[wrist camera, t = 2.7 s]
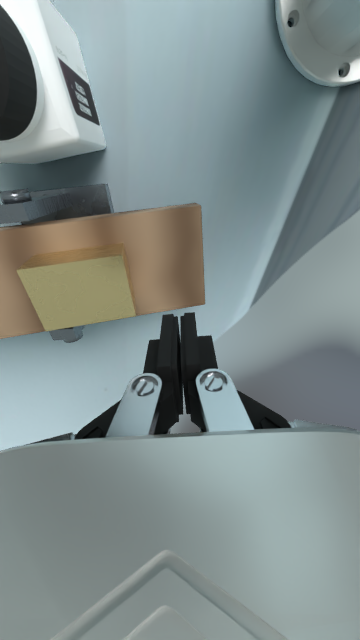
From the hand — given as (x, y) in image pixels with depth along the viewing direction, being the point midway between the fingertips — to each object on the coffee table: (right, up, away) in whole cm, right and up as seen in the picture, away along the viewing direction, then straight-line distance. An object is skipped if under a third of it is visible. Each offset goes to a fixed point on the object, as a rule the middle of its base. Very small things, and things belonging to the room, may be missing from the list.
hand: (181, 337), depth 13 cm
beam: (-12, +5, +9) cm, 16 cm away
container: (-11, +20, +9) cm, 25 cm away
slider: (-8, +4, +8) cm, 12 cm away
